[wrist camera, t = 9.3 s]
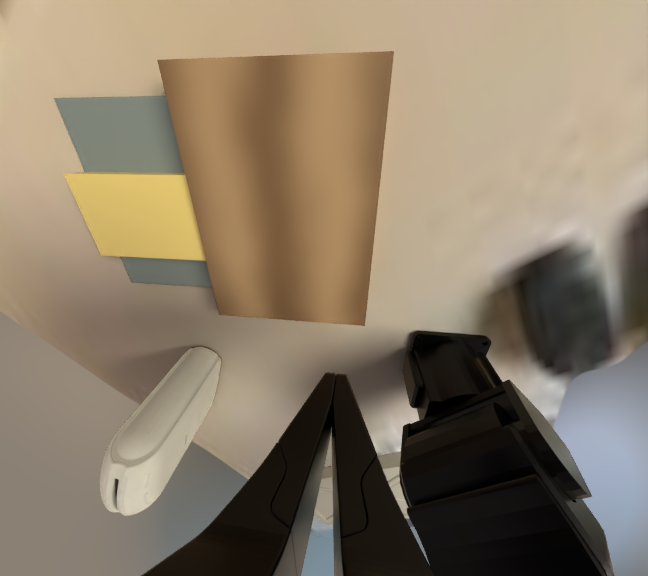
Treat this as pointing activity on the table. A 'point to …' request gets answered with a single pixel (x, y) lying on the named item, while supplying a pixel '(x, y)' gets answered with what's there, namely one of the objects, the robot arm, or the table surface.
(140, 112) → the mat
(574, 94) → the table surface
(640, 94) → the table surface
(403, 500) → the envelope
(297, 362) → the table surface
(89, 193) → the pale yellow foam brick
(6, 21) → the table surface
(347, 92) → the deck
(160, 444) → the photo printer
